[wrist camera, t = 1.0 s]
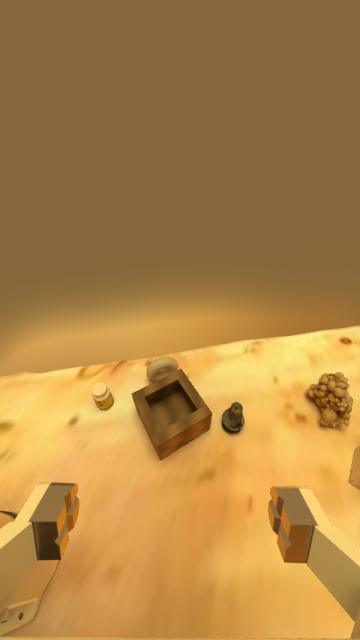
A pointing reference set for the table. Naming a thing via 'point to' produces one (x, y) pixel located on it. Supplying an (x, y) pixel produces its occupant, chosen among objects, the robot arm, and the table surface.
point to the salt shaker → (233, 419)
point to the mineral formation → (332, 398)
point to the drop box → (172, 412)
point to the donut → (159, 364)
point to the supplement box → (355, 469)
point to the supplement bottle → (102, 396)
